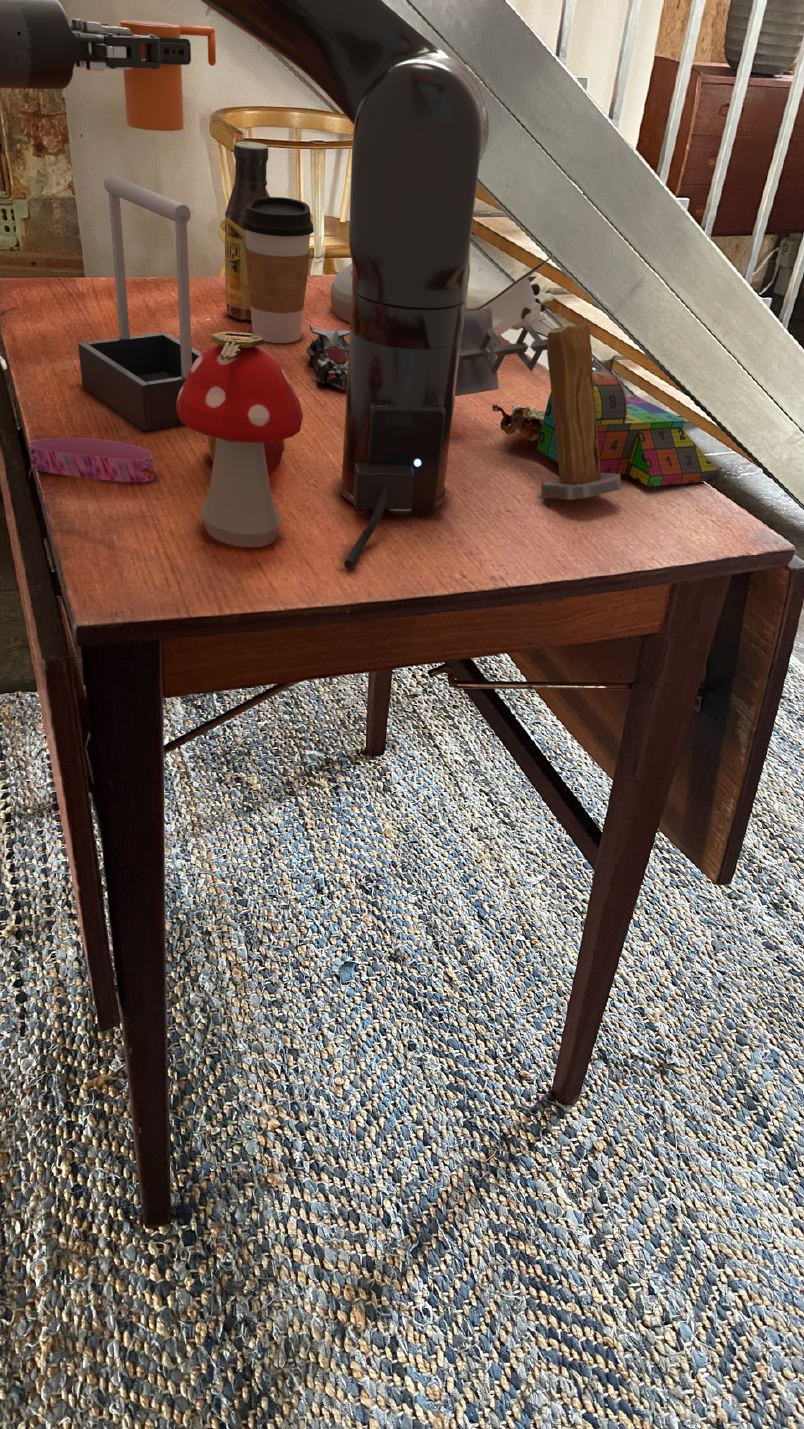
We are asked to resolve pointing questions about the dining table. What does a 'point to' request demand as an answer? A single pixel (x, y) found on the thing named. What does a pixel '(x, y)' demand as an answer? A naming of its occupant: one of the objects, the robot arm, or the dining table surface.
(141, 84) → the orange mug
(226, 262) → the sauce bottle
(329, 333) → the toy car
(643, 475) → the building blocks
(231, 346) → the key
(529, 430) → the brown crumpled lump
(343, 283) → the decorative stone
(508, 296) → the space shuttle model
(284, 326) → the coffee cup
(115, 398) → the basket
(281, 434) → the decorative mushroom
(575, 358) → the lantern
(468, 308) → the arrowhead
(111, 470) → the headband
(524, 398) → the dining table surface
